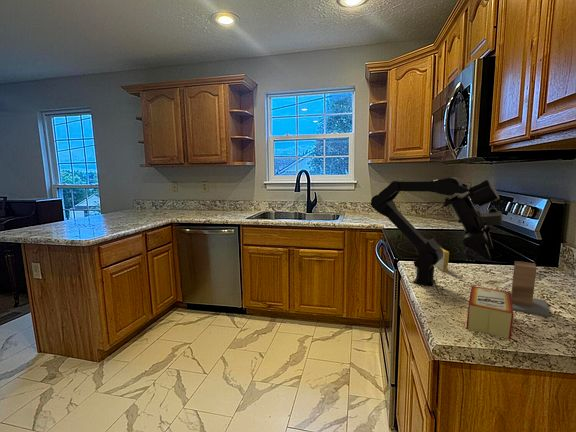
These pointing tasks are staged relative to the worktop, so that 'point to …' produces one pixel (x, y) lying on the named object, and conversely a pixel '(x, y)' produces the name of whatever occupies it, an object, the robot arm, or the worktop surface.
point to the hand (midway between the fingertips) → (490, 254)
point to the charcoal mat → (534, 308)
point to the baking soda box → (490, 312)
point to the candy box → (443, 261)
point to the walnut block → (523, 283)
